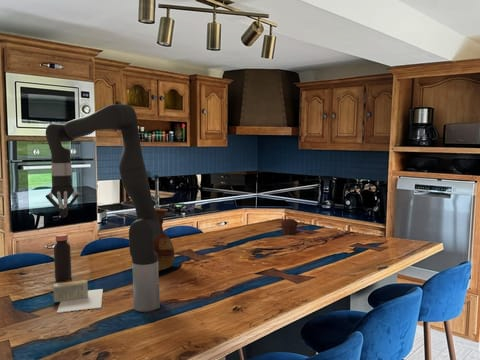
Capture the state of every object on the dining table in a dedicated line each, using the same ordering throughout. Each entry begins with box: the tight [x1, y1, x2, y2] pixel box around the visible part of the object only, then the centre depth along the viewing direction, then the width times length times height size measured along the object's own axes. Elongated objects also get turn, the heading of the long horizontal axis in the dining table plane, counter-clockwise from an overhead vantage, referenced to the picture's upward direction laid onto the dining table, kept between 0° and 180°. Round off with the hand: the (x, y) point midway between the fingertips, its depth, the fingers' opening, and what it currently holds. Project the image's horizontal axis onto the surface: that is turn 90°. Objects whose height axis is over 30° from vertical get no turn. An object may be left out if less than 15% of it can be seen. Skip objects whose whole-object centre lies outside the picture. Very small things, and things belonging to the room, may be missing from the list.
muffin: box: [280, 218, 299, 236], centre depth 274 cm, size 12×11×10 cm
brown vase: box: [135, 208, 175, 272], centre depth 196 cm, size 20×20×30 cm
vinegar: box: [53, 233, 72, 282], centre depth 183 cm, size 7×7×20 cm
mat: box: [56, 288, 104, 314], centre depth 158 cm, size 15×20×1 cm
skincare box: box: [53, 279, 89, 303], centre depth 159 cm, size 6×4×12 cm
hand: (63, 217), depth 165 cm, fingers closed
